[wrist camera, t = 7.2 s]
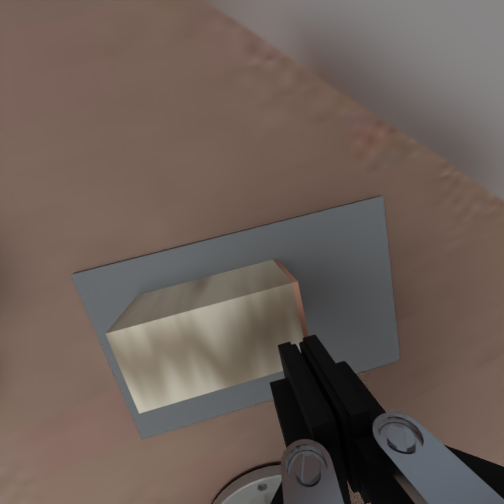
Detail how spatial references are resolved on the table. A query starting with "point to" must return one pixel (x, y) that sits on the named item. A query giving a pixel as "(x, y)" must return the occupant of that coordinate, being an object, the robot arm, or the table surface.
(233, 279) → the birch block
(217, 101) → the table surface
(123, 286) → the rubber mat
